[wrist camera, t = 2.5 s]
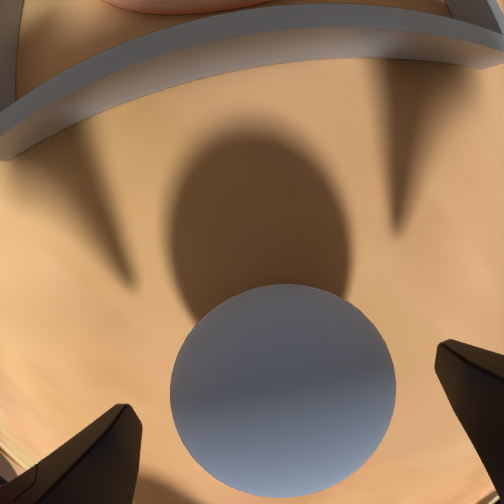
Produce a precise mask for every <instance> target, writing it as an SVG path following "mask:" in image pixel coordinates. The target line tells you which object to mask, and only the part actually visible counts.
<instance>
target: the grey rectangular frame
mask: <svg viewBox="0 0 504 504" xmlns="http://www.w3.org/2000/svg"><path fill="white" fill-rule="evenodd" d="M103 1H105V2H107V3H108V4H110V5H113V6H116V7H118V8H121V9H125V10H129V11H133V12H139V13H148V14H166V15H177V14H197V13H208V12H217V11H224V10H231V9H237V8H242V7H247V6H252V5H257V4H260V3H264V2H268V1H272V0H103ZM445 1H446V3H447V6H448V8H449V10H450V12H451V14H452V16H453V19H452V18H448V17H444V16H440V15H435V14H430V13H425V12H420V11H414V10H408V9H402V8H394V7H386V6H376V5H364V4H343V3H314V4H293V5H280V6H270V7H261V8H254V9H247V10H241V11H235V12H229V13H224V14H219V15H214V16H209V17H205V18H201V19H197V20H193V21H189V22H185V23H181V24H178V25H174V26H171V27H168V28H165V29H161V30H158V31H155V32H152V33H149V34H146V35H144V36H141V37H138V38H135V39H133V40H130V41H127V42H125V43H122V44H120V45H118V46H115V47H113V48H110V49H108V50H106V51H104V52H101V53H99V54H97V55H95V56H93V57H91V58H89V59H87V60H85V61H82V62H81V63H79V64H77V65H75V66H73V67H71V68H69V69H67V70H65V71H63V72H62V73H60V74H58V75H56V76H55V77H53V78H51V79H49V80H48V81H46V82H44V83H43V84H41V85H40V86H38V87H36V88H35V89H33V90H32V91H30V92H29V93H27V94H26V95H24V96H23V97H21V98H20V99H18V100H17V101H16V98H15V78H16V55H17V43H18V33H19V25H20V18H21V12H22V6H23V0H0V161H9V160H10V159H12V158H13V157H15V156H17V155H18V154H20V153H22V152H23V151H25V150H27V149H28V148H30V147H32V146H34V145H35V144H37V143H39V142H41V141H42V140H44V139H46V138H48V137H50V136H52V135H54V134H56V133H58V132H59V131H61V130H63V129H65V128H68V127H70V126H72V125H74V124H76V123H78V122H80V121H82V120H84V119H87V118H89V117H91V116H93V115H96V114H98V113H100V112H103V111H105V110H108V109H110V108H112V107H115V106H118V105H120V104H123V103H125V102H128V101H131V100H133V99H136V98H139V97H142V96H145V95H148V94H151V93H154V92H157V91H160V90H163V89H166V88H170V87H173V86H176V85H180V84H183V83H187V82H191V81H194V80H198V79H202V78H206V77H210V76H215V75H219V74H224V73H228V72H233V71H238V70H243V69H249V68H255V67H261V66H267V65H274V64H281V63H289V62H298V61H308V60H320V59H337V58H396V59H413V60H424V61H434V62H442V63H450V64H457V65H463V66H469V67H474V68H479V69H486V68H489V67H492V66H495V65H499V64H502V63H504V15H503V13H502V11H501V9H500V7H499V5H498V3H497V1H496V0H445Z"/></svg>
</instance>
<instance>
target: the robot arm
mask: <svg viewBox="0 0 504 504" xmlns="http://www.w3.org/2000/svg"><path fill="white" fill-rule="evenodd" d="M435 372H436V374H437V376H438V378H439V380H440V383H441V385H442V387H443V389H444V391H445V393H446V395H447V398H448V400H449V402H450V404H451V406H452V408H453V410H454V412H455V414H456V416H457V418H458V419H459V421H460V423H461V424H462V426H463V428H464V430H465V431H466V433H467V435H468V437H469V439H470V440H471V442H472V444H473V446H474V448H475V449H476V451H477V453H478V455H479V457H480V459H481V461H482V463H483V465H484V467H485V469H486V471H487V473H488V475H489V477H490V479H491V481H492V483H493V485H494V487H495V489H496V491H497V493H498V495H499V498H500V500H501V502H502V504H504V355H502V354H498V353H495V352H492V351H488V350H485V349H482V348H478V347H475V346H472V345H469V344H465V343H462V342H459V341H456V340H453V339H448V340H446V341H443V342H441V343H439V344H438V346H437V352H436V359H435ZM141 439H142V423H141V421H140V419H139V418H138V416H137V415H136V413H135V411H134V410H133V408H132V406H131V405H129V404H116V405H114V406H113V407H112V408H111V409H109V410H108V411H107V412H105V413H104V414H103V415H102V416H100V417H99V418H98V419H96V420H95V421H94V422H92V423H91V424H90V425H88V426H87V427H86V428H84V429H83V430H82V431H80V432H79V433H78V434H76V435H75V436H74V437H72V438H71V439H70V440H68V441H67V442H66V443H64V444H63V445H62V446H60V447H59V448H58V449H56V450H55V451H54V452H52V453H51V454H49V455H48V456H47V457H45V458H44V459H42V460H41V461H40V462H38V464H35V465H34V466H33V467H31V468H30V469H28V470H27V471H25V472H24V473H22V474H21V475H19V476H18V477H16V478H15V479H13V480H11V481H9V482H8V483H6V484H4V485H2V486H0V504H132V502H133V497H134V491H135V486H136V481H137V476H138V470H139V461H140V449H141Z"/></svg>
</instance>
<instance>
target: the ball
mask: <svg viewBox="0 0 504 504" xmlns="http://www.w3.org/2000/svg"><path fill="white" fill-rule="evenodd" d="M395 397H396V379H395V371H394V366H393V362H392V359H391V356H390V353H389V350H388V348H387V345H386V343H385V341H384V340H383V338H382V336H381V335H380V333H379V332H378V330H377V328H376V327H375V326H374V325H373V323H372V322H371V321H370V320H369V319H368V318H367V317H366V316H365V315H364V314H363V313H362V312H361V311H360V310H359V309H357V308H356V307H355V306H353V305H352V304H351V303H349V302H347V301H346V300H344V299H342V298H340V297H339V296H337V295H335V294H333V293H330V292H327V291H325V290H322V289H318V288H314V287H310V286H305V285H296V284H274V285H267V286H261V287H257V288H253V289H249V290H247V291H244V292H242V293H239V294H237V295H235V296H233V297H231V298H229V299H227V300H225V301H224V302H222V303H220V304H219V305H217V306H216V307H215V308H213V309H212V310H211V311H209V312H208V313H207V314H206V315H205V316H204V317H203V318H202V319H201V320H200V321H199V322H198V323H197V324H196V325H195V327H194V328H193V329H192V331H191V332H190V333H189V334H188V336H187V338H186V339H185V341H184V343H183V345H182V347H181V349H180V351H179V353H178V355H177V358H176V361H175V364H174V367H173V372H172V377H171V384H170V402H171V410H172V415H173V419H174V423H175V426H176V429H177V431H178V434H179V436H180V438H181V440H182V442H183V444H184V446H185V447H186V448H187V450H188V451H189V453H190V454H191V456H192V457H193V458H194V459H195V461H196V462H197V463H198V464H199V465H200V466H202V467H203V468H204V469H205V470H206V471H207V472H208V473H209V474H210V475H212V476H213V477H215V478H216V479H218V480H219V481H221V482H223V483H224V484H226V485H228V486H230V487H232V488H234V489H237V490H239V491H242V492H246V493H249V494H252V495H256V496H262V497H271V498H287V497H297V496H303V495H308V494H312V493H315V492H318V491H321V490H324V489H327V488H329V487H331V486H333V485H335V484H337V483H339V482H341V481H342V480H344V479H345V478H347V477H348V476H350V475H351V474H352V473H354V472H355V471H356V470H358V469H359V468H360V467H361V466H362V465H363V464H364V463H365V462H366V461H367V460H368V458H369V457H370V456H371V455H372V454H373V453H374V451H375V450H376V449H377V447H378V446H379V444H380V442H381V441H382V439H383V437H384V435H385V433H386V431H387V429H388V426H389V424H390V421H391V418H392V414H393V410H394V406H395Z"/></svg>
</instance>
